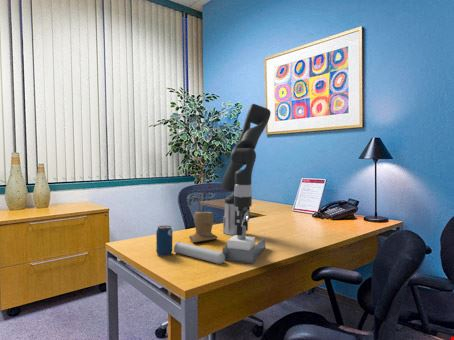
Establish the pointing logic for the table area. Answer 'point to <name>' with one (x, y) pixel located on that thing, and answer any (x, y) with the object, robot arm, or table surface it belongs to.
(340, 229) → the table surface
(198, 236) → the stone cup
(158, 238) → the soda can
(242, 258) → the bay
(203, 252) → the tube
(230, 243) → the white knobbed block
